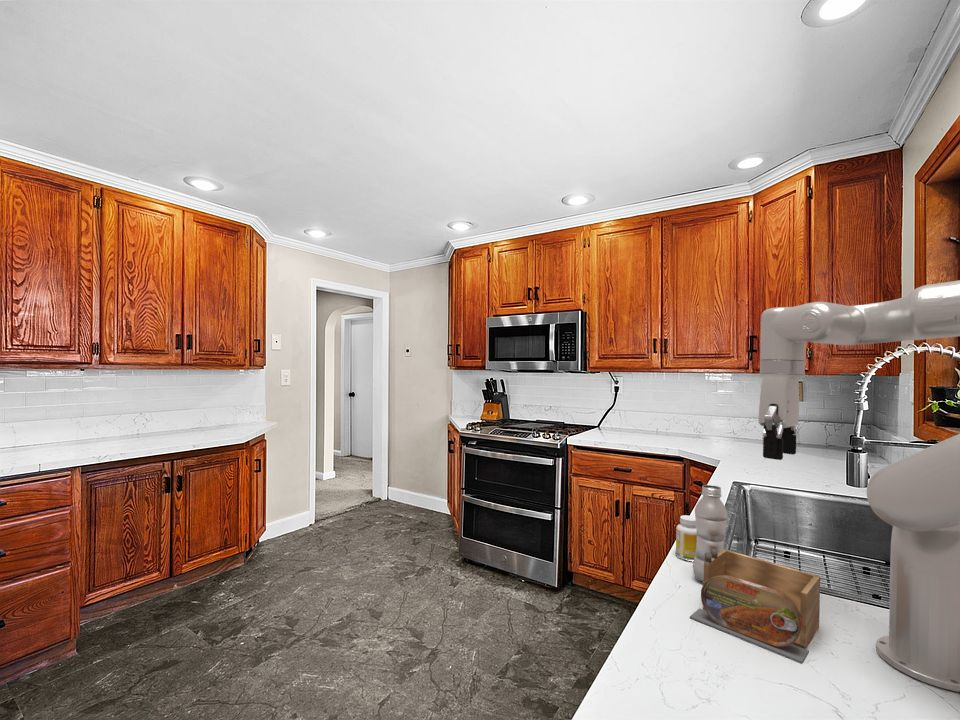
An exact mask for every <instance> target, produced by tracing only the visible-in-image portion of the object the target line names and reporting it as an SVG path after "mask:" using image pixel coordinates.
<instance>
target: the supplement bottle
mask: <svg viewBox="0 0 960 720" xmlns="http://www.w3.org/2000/svg"><path fill="white" fill-rule="evenodd" d="M679 522H680V523H679V524H678V525H677V526H676V533H675V534H676V537H675V556H676V555H677V556H678V557H679V558H682V559H687V560H694V557H695V552H696V543H697V527H696V518H695V516H693V515H686V514H685V515H681V516H680V517H679ZM677 556H676V557H677ZM678 557H677V558H678ZM679 558H678V559H679Z"/></svg>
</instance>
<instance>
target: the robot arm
mask: <svg viewBox="0 0 960 720" xmlns="http://www.w3.org/2000/svg"><path fill="white" fill-rule="evenodd" d="M957 337H960V280H959V279H958V280H953V281H946V282H938V283H931V284H924V285H921V286H919V287H917V288H914V289H913V290H912V291H911V292H910V293H909V294H907V295H905V296H903V297H900V298H896V299H892V300H888V301H887V300H885V301H881V302H872V303H865V304H856V305H845V304H840V303H835V302H834V303H833V302H827V301H814V302H807V303H804V304H799V305H794V306H785V307H784V306H781V307H778V306H777V307H770V308H767V309H765V310H763V312H762V313H761V317H760V352H759V353H760V354H759V377H762V381H761V385H760V393H759V395H760V396H759V408H758V420H757V421H758V424H759V425H760V426H763V433H762V435H763V438H762V439H763V441H762V443H763V444H762V457H763V458H765V459H770V460H777V461H778V460H779V461H781V460H783V458H784V455H785V454H786V455H791V456H792V455H796V454H797V427H796V426H797V425H798V423H799V416H800V383H799V378H801V379H803V378H804V379H805V377H806V376H805V375H806V373H805V372H806V371H805V370H806V368H805V367H806V342H807V343H815V344H826V345H827V344H828V345H835V346H855V345H866V344H867V345H868V344H869V345H870V344H883V343H885V344H886V343H894V342H895V343H896V342H902V341H903V342H904V341H906V342H907V341H923V340H928V339H929V340H930V339H940V338H941V339H942V338H943V339H944V338H945V339H946V338H957ZM866 499H867V502H868V504H869V506H870V508H871V510H872V512H874V513H875V515H876V516H877V517H878V518H879V519H881V520H882V521H883V522H885V523H887V524H889V525H890V526H892V529H891V530H892V531H891V538H890V563H889V564H890V565H889V566H890V567H889V568H890V569H889V612H888V613H889V616H888V618H889V619H888V622H889V623H888V624H889V625H888V635H885V636H882V637H878V639H876V643H875V648H876V652H877V654H878V655H879V656H880V657H881V658H882V659H883V660H884V661H885V662H886V663H887V664H888V665H891V666H892V667H893V668H895V669H896V670H898V671H900V672H902V673H904V674H906V675H907V676H910V677H912V678H913V679H916V680H919V681H920V682H922V683H926V684H929V685H931V686H934V687H937V688H940V689H944V690H948V691H952V692H958V693H960V433H958V434H956V435H953V436H951V437H949V438H945V439H944V440H942V441H940V442H937V443H934V444H933V445H930V446H928V447H926V448H923V449H922V450H919V451H917V452H915V453H911V454H910V455H908V456H905V457H903V458H901V459H899V460H897V461H894V462H892V463H890V464H888V465H885V466H884V467H883V468H881V469H880V468H879V470H877V471H876V472H875V473H874V474H873V475H872V476H871V477H870V480H869V481H868V483H867V487H866Z"/></svg>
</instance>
